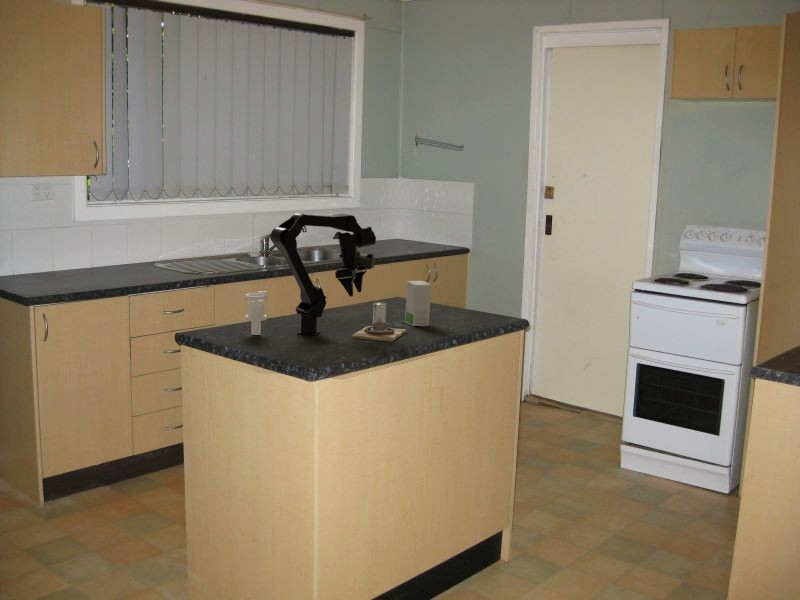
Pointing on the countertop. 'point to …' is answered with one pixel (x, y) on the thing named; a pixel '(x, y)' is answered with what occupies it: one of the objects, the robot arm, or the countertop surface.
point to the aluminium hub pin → (379, 317)
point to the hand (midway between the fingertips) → (355, 294)
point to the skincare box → (418, 303)
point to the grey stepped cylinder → (256, 310)
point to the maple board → (379, 334)
